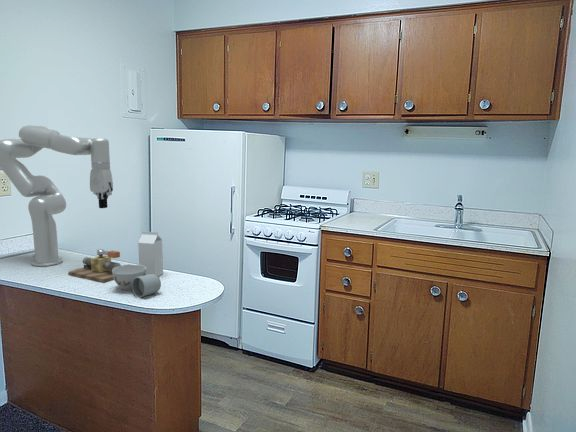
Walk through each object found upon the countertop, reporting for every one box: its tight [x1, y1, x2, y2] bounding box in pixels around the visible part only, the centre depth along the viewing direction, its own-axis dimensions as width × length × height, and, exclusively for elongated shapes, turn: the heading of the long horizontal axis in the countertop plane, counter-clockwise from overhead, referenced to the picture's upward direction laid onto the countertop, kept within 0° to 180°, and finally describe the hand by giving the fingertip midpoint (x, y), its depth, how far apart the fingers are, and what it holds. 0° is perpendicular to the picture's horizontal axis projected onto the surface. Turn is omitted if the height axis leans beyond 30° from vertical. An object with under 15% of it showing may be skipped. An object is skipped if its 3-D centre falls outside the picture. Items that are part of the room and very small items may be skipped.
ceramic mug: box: [131, 274, 162, 298], centre depth 159 cm, size 11×8×8 cm
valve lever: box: [96, 248, 121, 259], centre depth 180 cm, size 12×3×2 cm, turn 62°
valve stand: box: [67, 255, 121, 284], centre depth 182 cm, size 22×16×8 cm
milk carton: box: [137, 231, 164, 277], centre depth 180 cm, size 7×7×19 cm
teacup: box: [112, 264, 146, 291], centre depth 166 cm, size 15×12×8 cm
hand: (103, 207), depth 190 cm, fingers closed
